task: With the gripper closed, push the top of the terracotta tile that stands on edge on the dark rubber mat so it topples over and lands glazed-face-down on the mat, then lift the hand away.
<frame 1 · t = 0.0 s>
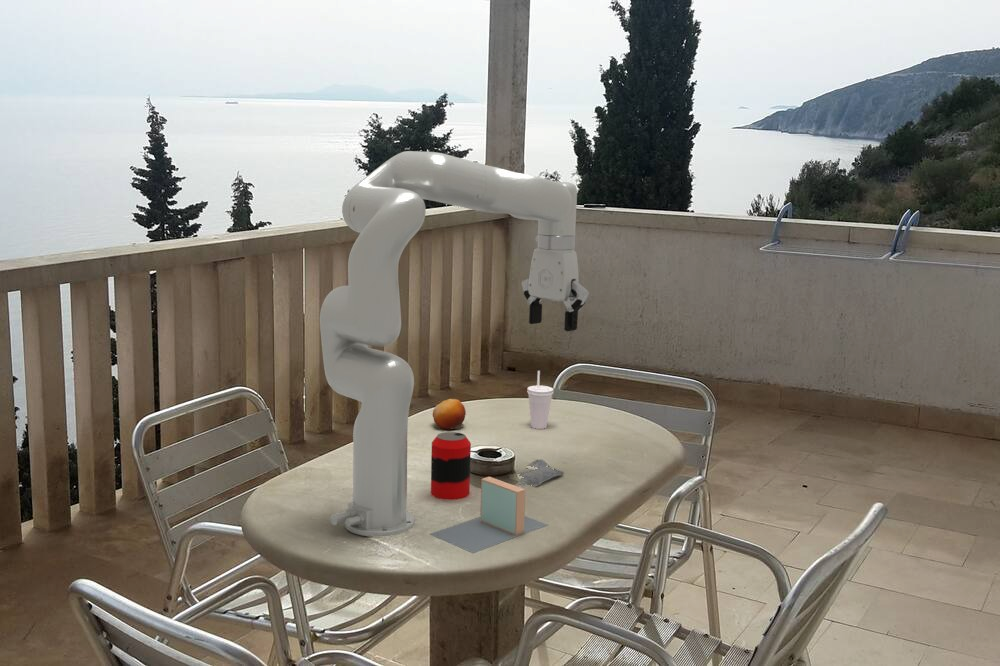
hand: (552, 326, 207), 31 cm above the table, tool pointing down, fingers open, 9 cm apart
soda can: (450, 496, 197), on the table
mat: (489, 532, 179), on the table
smoothie: (538, 427, 246), on the table
fruit: (448, 428, 244), on the table
stone slab: (530, 480, 210), on the table
tile: (501, 526, 181), resting on mat
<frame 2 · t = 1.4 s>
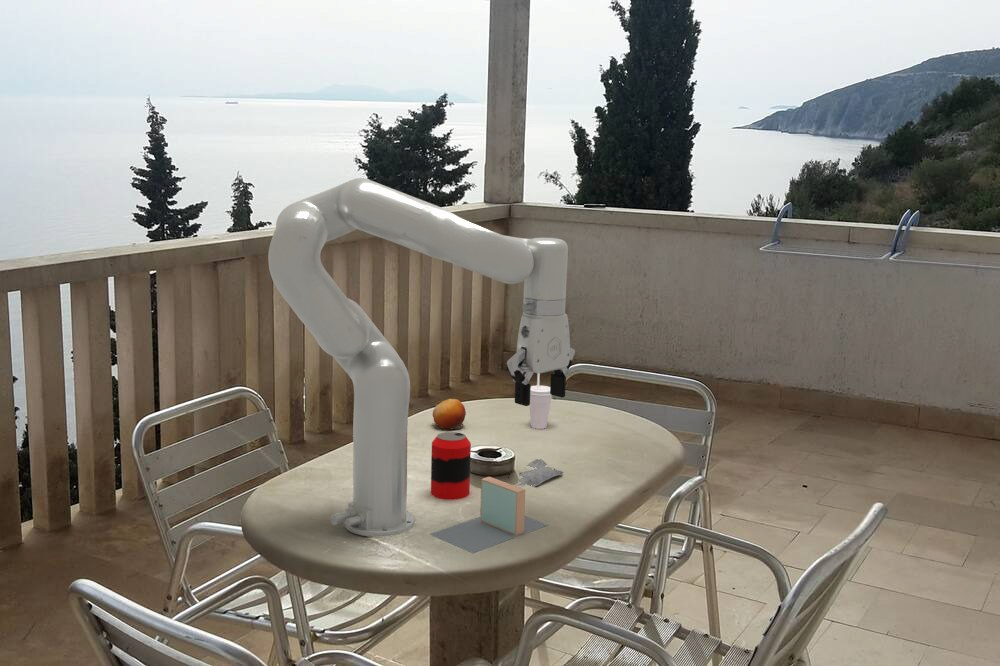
hand: (540, 400, 184), 22 cm above the table, tool pointing down, fingers open, 9 cm apart
nothing on the table moved.
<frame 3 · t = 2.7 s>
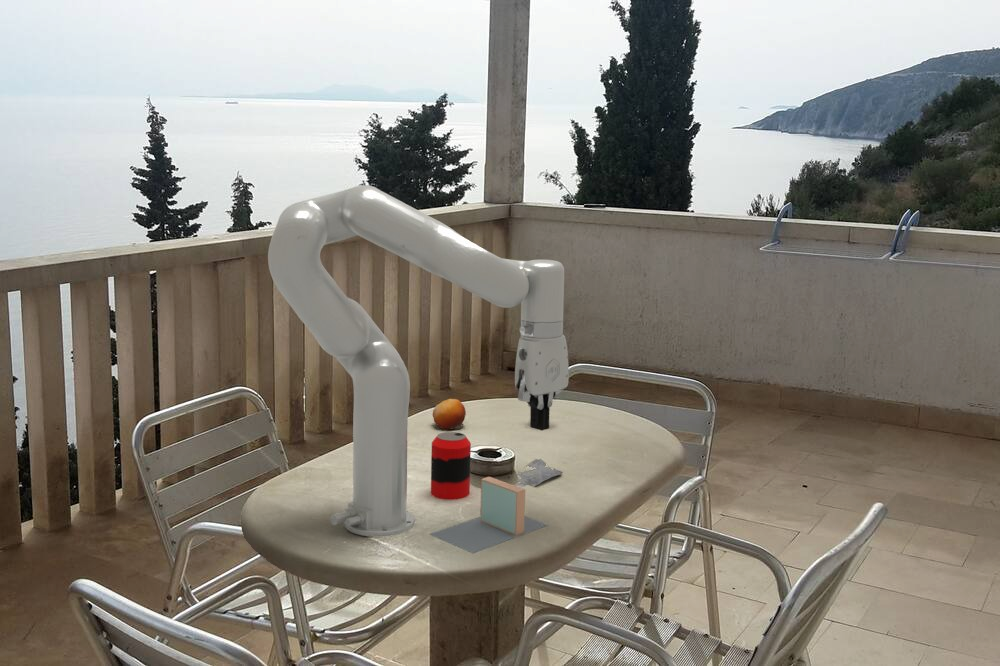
hand: (539, 428, 184), 17 cm above the table, tool pointing down, fingers closed
nothing on the table moved.
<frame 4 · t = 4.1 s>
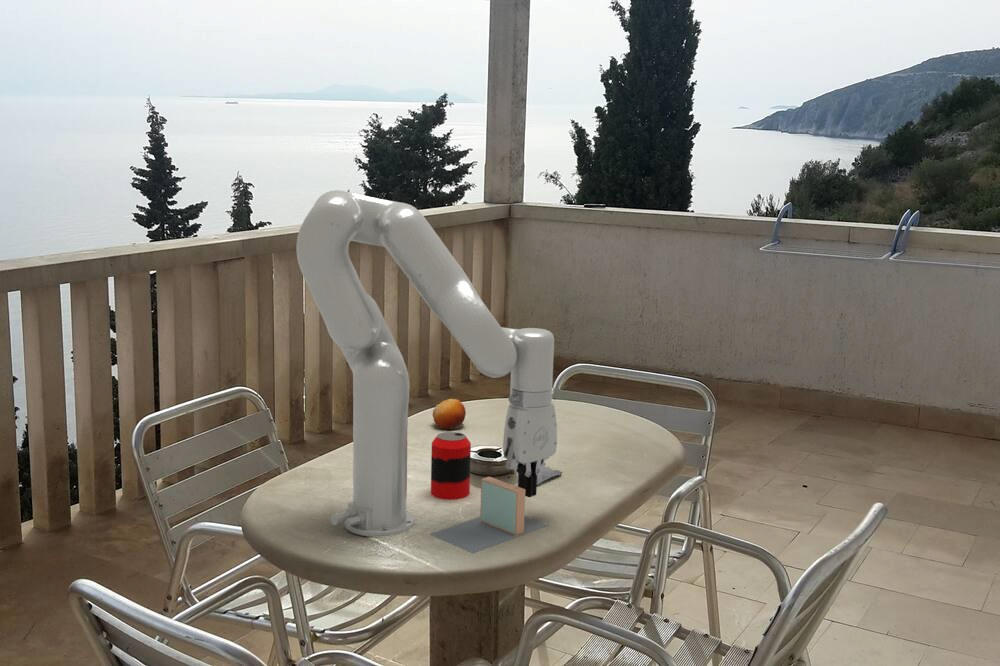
hand: (526, 494, 185), 5 cm above the table, tool pointing down, fingers closed
nothing on the table moved.
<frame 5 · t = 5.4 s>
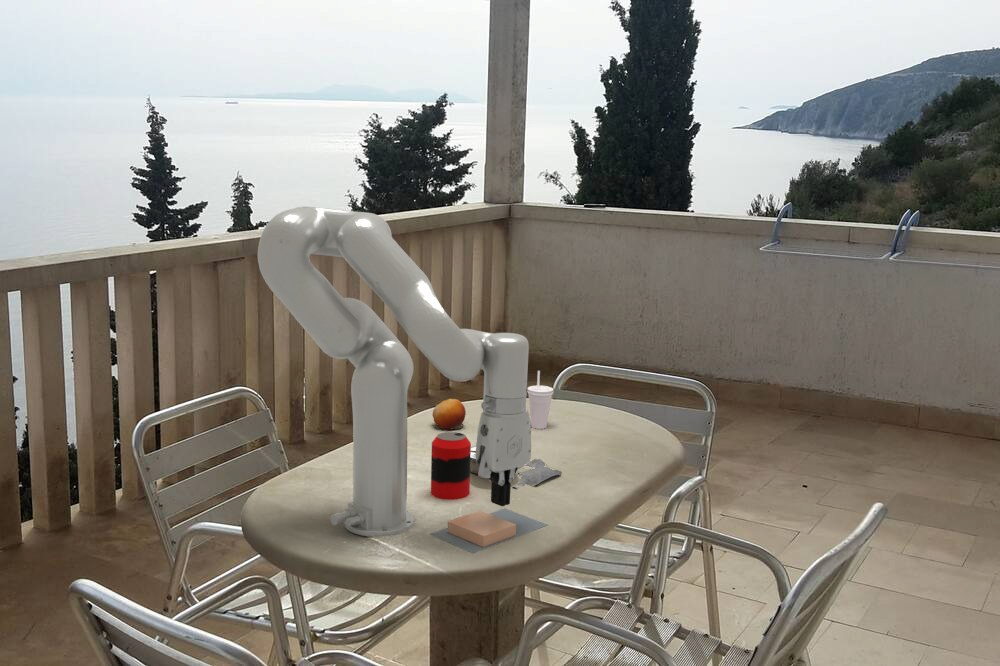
hand: (500, 503, 180), 5 cm above the table, tool pointing down, fingers closed
tile: (497, 522, 180), point 2 cm above the table, tilted 90°, touching mat
everything else where it was.
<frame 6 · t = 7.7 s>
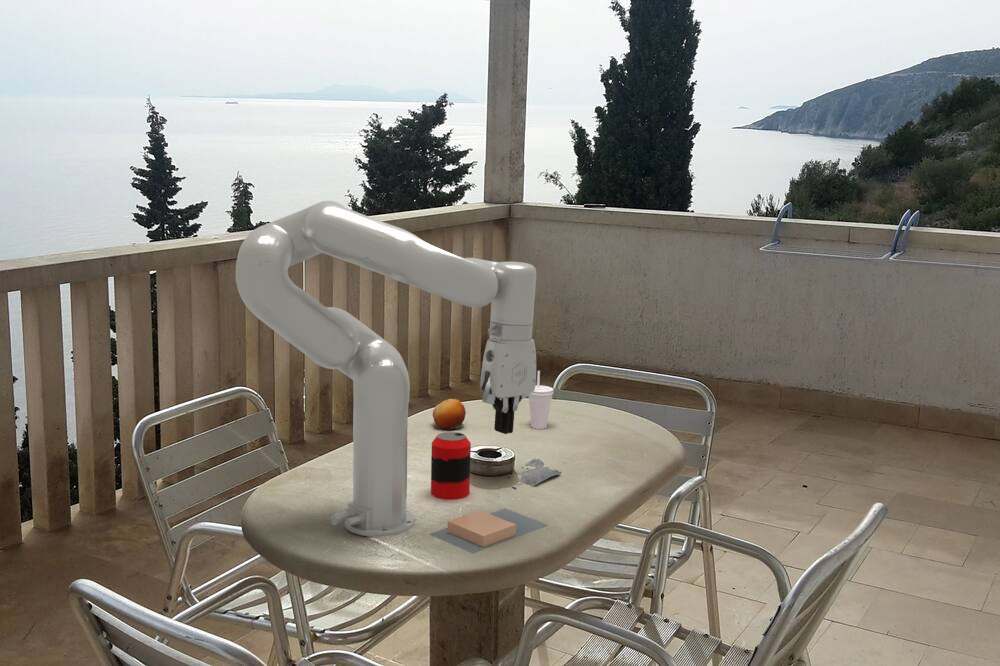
hand: (503, 431, 182), 17 cm above the table, tool pointing down, fingers closed
nothing on the table moved.
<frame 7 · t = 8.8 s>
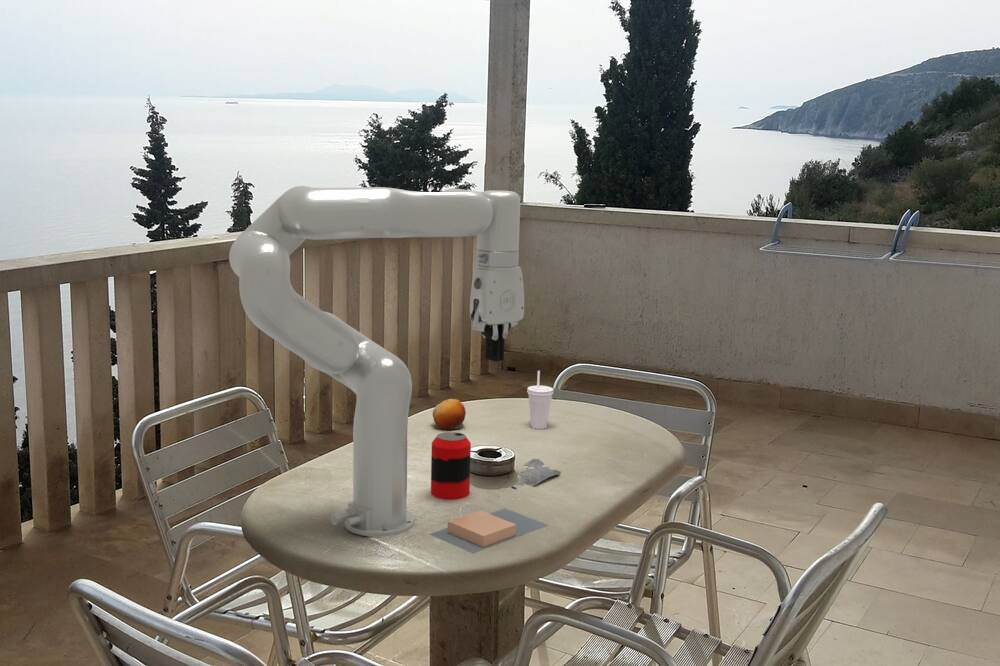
hand: (494, 359, 184), 29 cm above the table, tool pointing down, fingers closed
nothing on the table moved.
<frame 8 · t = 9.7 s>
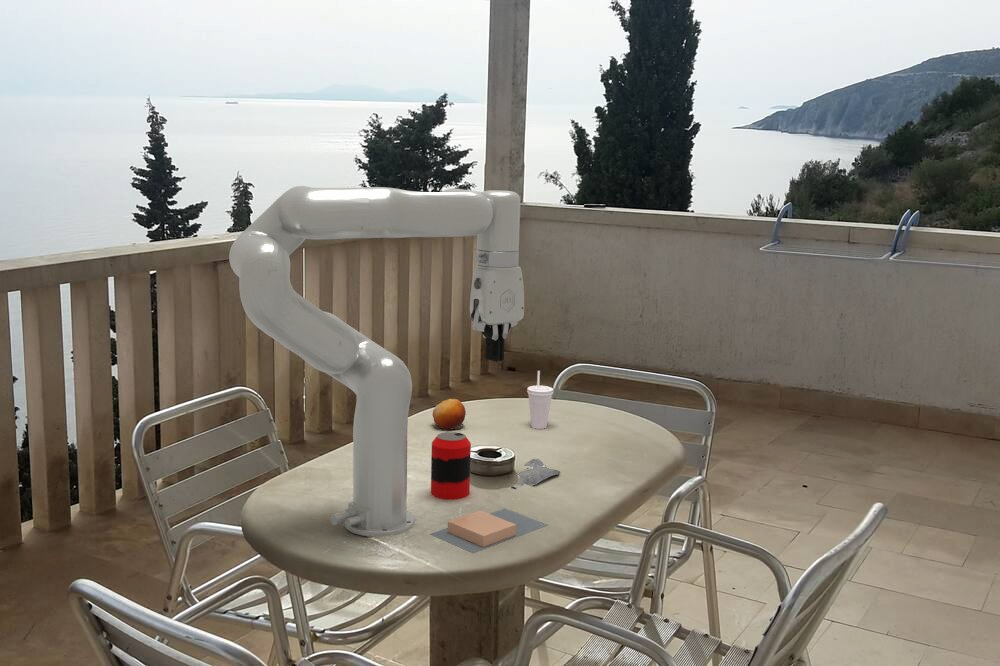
hand: (494, 359, 184), 29 cm above the table, tool pointing down, fingers closed
nothing on the table moved.
at the end: tile tilted 90°; tile point 1.5 cm above the table; tile inside the target area (0.9 cm from its centre), point 1.5 cm above the table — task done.
